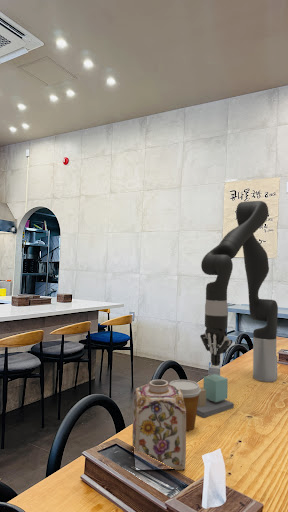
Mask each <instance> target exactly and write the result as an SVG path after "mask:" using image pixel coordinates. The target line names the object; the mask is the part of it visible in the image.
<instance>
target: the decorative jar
mask: <svg viewBox="0 0 288 512" xmlns="http://www.w3.org/2000/svg"><path fill="white" fill-rule="evenodd" d="M183 399H184V398H183V394H182V391H181V390H180V389H179V388H176V387H174V386H171V385H169V382H168V380H165V379H153V380H150V381H149V383H147V384H143V385H140V386H139V387H136V388H135V390H134V392H133V409H132V411H133V412H132V447H133V446H134V447H135V451H137V452H138V451H139V452H140V451H141V452H143V453H145V454H147V455H149V456H150V457H152V458H154V459H156V460H158V461H160V462H162V463H164V464H165V465H167V466H169V467H171V468H173V469H175V470H174V471H184V470H185V469H186V464H187V462H186V458H187V454H186V453H187V431H186V407H185V402H184V400H183ZM183 469H184V470H183Z"/></svg>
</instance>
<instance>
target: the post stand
mask: <svg viewBox="0 0 288 512" xmlns="http://www.w3.org/2000/svg"><path fill="white" fill-rule="evenodd" d="M199 388H200V389H201V392H200V394H199V398H198V405H197V412H196V416H199V417H201V418H203V419H204V418H207V417H211V416H212V415H216V414H219V413H222V412H226V411H228V410H231V409H234V407H235V403H234V402H231V401H230V400H227V399H224V400H221V401H218V402H214V401H212V400H210V399H208V398H206V390H205V389H203V387H199Z"/></svg>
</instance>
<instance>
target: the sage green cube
mask: <svg viewBox="0 0 288 512" xmlns="http://www.w3.org/2000/svg"><path fill="white" fill-rule="evenodd" d="M228 381H229V379H228V378H227V377H224V376H222V375H220V376H219V375H216V374H214V375H209V376H208V375H205V376H203V383H202V384H203V387H202V388H203V389H205V390H206V398H208V399H210V400H212V401H214V402H218V401H221V400H224V399H225V400H227V399H228V392H229V391H228V385H229V384H228Z"/></svg>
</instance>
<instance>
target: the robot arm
mask: <svg viewBox="0 0 288 512" xmlns="http://www.w3.org/2000/svg"><path fill="white" fill-rule="evenodd" d="M235 213H236V215H235V216H236V222H237V226H236V227H235V228H232V229H231V230H230V231H229V232H227V234H225V235H224V237H223V238H222V240H221V241H220V243H219V244H218V245H216V246H215V247H214V248H212V249H211V250H210V251H208V252H207V253H206V254H205V255H204V256H203V258H202V260H201V262H200V263H201V265H200V267H201V270H202V272H203V274H205V275H208V276H217V277H216V279H215V280H214V281H212V282H208V283H207V284H206V287H205V302H204V327H205V331H204V333H203V334H200V339H201V341H202V343H203V346H204V347H205V350H206V351H207V352H210V362H211V363H212V365H214V366H218V365H219V364H220V365H221V356H222V355H221V354H225V353H227V350H228V349H230V347H231V345H232V344H233V340H232V339H229V337H228V333H227V328H228V315H229V314H228V313H229V312H228V286H229V283H230V280H231V276H232V272H233V265H234V264H233V260H232V259H234V258H235V257H236V256H237V255H238V253H239V252H240V250H241V248H242V252H243V260H244V269H245V275H246V282H247V290H248V291H247V292H248V310H249V316H250V317H251V319H252V320H254V321H260V322H266V325H265V326H263V327H258V328H255V329H254V330H253V335H252V338H253V340H252V341H253V342H252V343H253V345H252V351H253V352H252V353H253V354H252V358H253V359H252V378H253V379H254V380H257V381H259V382H265V383H274V382H276V381H277V379H278V356H277V334H278V333H277V332H278V331H277V330H278V315H279V314H278V313H279V310H278V309H279V308H278V307H279V306H278V303H277V301H276V300H275V299H268V298H267V299H266V298H260V297H259V292H260V288H261V286H262V284H263V283H264V282H265V280H266V278H267V276H268V274H269V272H270V267H269V259H268V258H269V256H268V254H267V251H266V250H265V248H264V247H263V246H262V245H261V243H260V242H259V241H258V239H257V238H256V236H255V232H257V231H258V229H259V228H261V227H262V226H263V225H264V224H265V223H266V221H267V219H268V216H269V207H268V204H267V203H266V202H265V201H262V200H253V201H252V200H250V201H249V200H248V201H242V202H239V203H238V204H237V207H236V211H235Z"/></svg>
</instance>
